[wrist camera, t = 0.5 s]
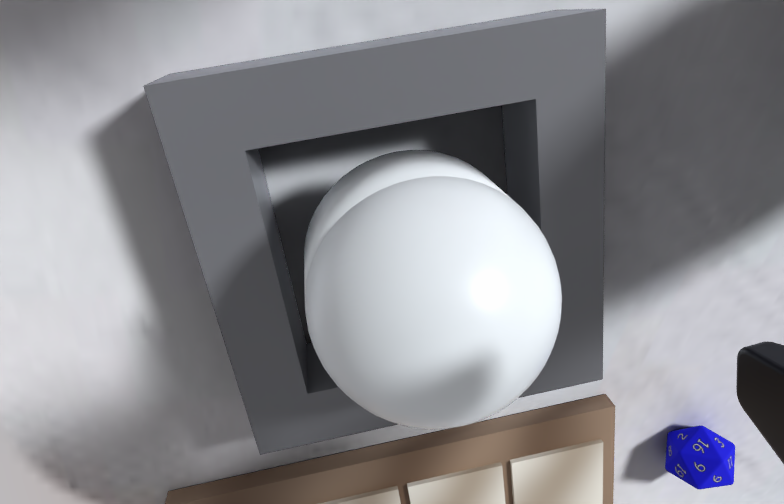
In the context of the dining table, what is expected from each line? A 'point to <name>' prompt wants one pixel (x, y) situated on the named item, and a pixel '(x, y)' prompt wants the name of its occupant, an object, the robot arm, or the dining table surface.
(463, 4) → the dining table surface
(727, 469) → the die
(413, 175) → the dome
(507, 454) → the game track
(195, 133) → the dome collar
